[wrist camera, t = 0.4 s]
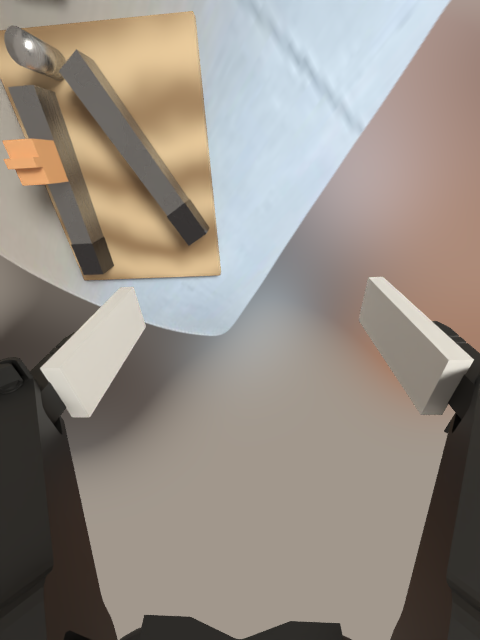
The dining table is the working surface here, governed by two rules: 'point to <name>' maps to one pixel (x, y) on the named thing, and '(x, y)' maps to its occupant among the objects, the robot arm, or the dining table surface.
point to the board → (156, 123)
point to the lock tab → (35, 161)
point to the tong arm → (132, 144)
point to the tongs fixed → (58, 148)
